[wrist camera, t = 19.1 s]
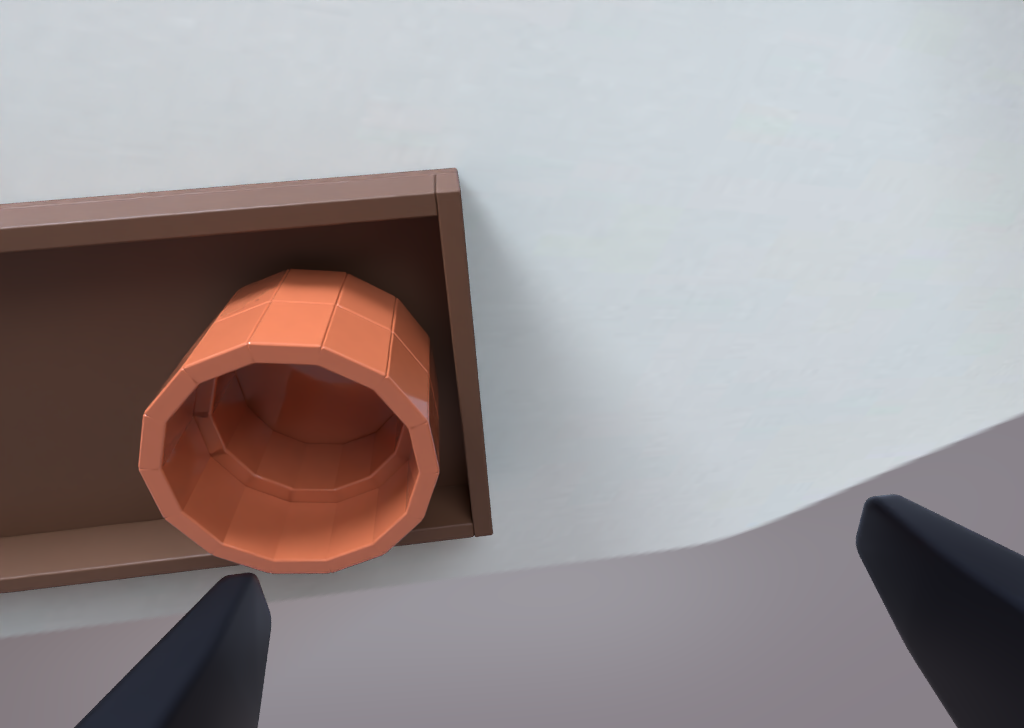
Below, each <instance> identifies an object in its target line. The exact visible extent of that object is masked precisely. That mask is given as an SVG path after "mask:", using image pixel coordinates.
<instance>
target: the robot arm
mask: <svg viewBox="0 0 1024 728" xmlns="http://www.w3.org/2000/svg"><path fill="white" fill-rule="evenodd" d="M856 546H857V550H858V553H859V555H860V558H861V559H862V561H863V563H864V565H865V567H866V569H867V571H868V573H869V575H870V577H871V579H872V581H873V583H874V585H875V587H876V589H877V591H878V593H879V595H880V597H881V599H882V601H883V603H884V605H885V607H886V609H887V611H888V613H889V615H890V617H891V618H892V620H893V622H894V624H895V626H896V628H897V630H898V632H899V634H900V636H901V638H902V640H903V641H904V643H905V645H906V647H907V649H908V650H909V652H910V653H911V655H912V657H913V658H914V660H915V662H916V663H917V665H918V667H919V668H920V670H921V671H922V673H923V674H924V676H925V678H926V679H927V681H928V682H929V684H930V685H931V687H932V688H933V690H934V692H935V693H936V695H937V696H938V698H939V700H940V701H941V702H942V704H943V706H944V707H945V709H946V710H947V712H948V714H949V715H950V717H951V718H952V720H953V722H954V723H955V724H956V726H957V727H958V728H1024V556H1022V555H1021V554H1018V553H1016V552H1014V551H1012V550H1010V549H1008V548H1006V547H1004V546H1002V545H1000V544H998V543H996V542H994V541H992V540H990V539H988V538H986V537H984V536H982V535H980V534H978V533H975V532H974V531H971V530H969V529H967V528H965V527H963V526H961V525H959V524H957V523H955V522H953V521H951V520H949V519H947V518H945V517H943V516H941V515H939V514H937V513H935V512H933V511H930V510H928V509H927V508H924V507H922V506H920V505H918V504H916V503H914V502H912V501H910V500H908V499H906V498H904V497H902V496H900V495H895V494H890V495H882V496H873V497H870V498H868V499H867V501H866V502H865V504H864V507H863V511H862V515H861V519H860V524H859V527H858V531H857V535H856ZM270 632H271V615H270V611H269V608H268V605H267V602H266V599H265V597H264V594H263V591H262V588H261V585H260V583H259V580H258V578H257V576H256V575H255V574H253V573H242V574H234V575H228V576H225V577H223V578H222V579H220V580H219V581H218V582H217V583H216V584H215V585H214V586H213V587H212V588H211V589H210V590H209V591H208V592H207V593H206V594H205V595H204V596H203V597H202V599H201V600H200V601H199V602H198V603H197V604H196V605H195V606H194V607H193V608H192V609H191V610H190V611H189V612H188V613H187V614H186V615H185V616H184V617H183V618H182V619H181V620H180V621H179V622H178V623H177V624H176V625H175V626H174V627H173V628H172V629H171V630H170V631H169V632H168V633H167V634H166V635H165V636H164V637H163V638H162V639H161V640H160V641H159V642H158V643H157V644H156V645H155V646H154V647H153V648H152V649H151V650H150V651H149V652H148V653H147V654H146V655H145V656H144V657H143V659H141V660H140V661H139V662H138V663H137V664H136V665H135V667H133V669H131V671H130V672H129V673H128V674H127V675H126V676H125V677H124V678H123V679H122V680H121V681H120V682H119V683H118V684H117V685H116V686H115V687H114V688H113V689H112V690H111V691H110V692H109V693H108V694H107V695H106V696H105V697H104V698H103V699H102V700H101V701H100V702H99V703H98V704H97V705H96V706H95V707H94V708H93V709H92V710H91V711H90V712H89V713H88V714H87V715H86V716H85V717H84V718H83V719H82V720H81V721H80V722H79V723H78V724H77V725H76V726H75V727H74V728H257V727H258V720H259V713H260V706H261V698H262V691H263V684H264V676H265V669H266V662H267V654H268V647H269V639H270Z"/></svg>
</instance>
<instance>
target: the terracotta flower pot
mask: <svg viewBox="0 0 1024 728" xmlns="http://www.w3.org/2000/svg"><path fill="white" fill-rule="evenodd" d="M138 467H139V472H140V473H141V475H142V477H143V479H144V481H145V483H146V485H147V487H148V489H149V491H150V493H151V495H152V497H153V499H154V501H155V503H156V505H157V506H158V508H159V510H160V512H161V514H162V516H163V517H164V518H165V520H166V521H167V522H169V523H170V524H171V525H173V526H174V527H175V528H177V529H178V530H179V531H181V532H182V533H183V534H184V535H186V536H187V537H188V538H190V539H191V540H192V541H194V542H195V543H196V544H197V545H199V546H200V547H201V548H203V549H204V550H205V551H207V552H208V553H209V554H212V555H213V556H215V557H219V558H222V559H225V560H228V561H231V562H234V563H238V564H241V565H244V566H247V567H250V568H253V569H256V570H260V571H263V572H266V573H272V574H324V573H330V572H331V573H334V572H337V571H339V570H342V569H345V568H348V567H351V566H354V565H356V564H359V563H362V562H365V561H368V560H371V559H373V558H376V557H379V556H382V555H384V554H385V553H387V552H388V551H389V550H390V549H391V548H392V547H393V546H395V545H396V544H397V543H398V542H399V541H400V540H401V539H402V538H403V537H404V536H406V535H407V534H408V533H409V532H410V531H411V530H412V529H413V528H414V527H416V526H417V525H418V524H419V523H420V522H421V521H422V519H423V518H424V517H425V514H426V511H427V508H428V505H429V502H430V499H431V497H432V494H433V491H434V488H435V485H436V482H437V479H438V477H439V471H440V459H439V385H438V375H437V370H436V365H435V361H434V356H433V351H432V346H431V341H430V338H429V336H428V334H427V333H426V332H425V331H424V329H423V328H422V327H421V326H420V325H419V323H418V322H417V321H416V320H415V318H414V317H413V316H412V315H411V313H410V312H409V311H408V310H407V309H406V307H405V306H404V305H403V304H402V302H401V301H400V300H399V299H398V298H396V297H395V296H393V295H391V294H389V293H387V292H385V291H383V290H381V289H379V288H377V287H375V286H373V285H371V284H369V283H367V282H365V281H363V280H361V279H359V278H357V277H355V276H353V275H351V274H347V273H346V272H338V271H321V270H304V269H290V270H285V271H282V272H279V273H277V274H274V275H272V276H269V277H267V278H264V279H262V280H259V281H256V282H254V283H251V284H249V285H246V286H244V287H241V288H240V289H239V290H238V291H236V292H235V293H234V294H233V295H232V297H231V298H230V299H229V300H228V301H227V303H226V304H225V305H224V306H223V307H222V309H221V310H220V311H219V312H218V313H217V315H216V316H215V317H214V318H213V319H212V321H211V322H210V323H209V324H208V326H207V327H206V328H205V330H204V331H203V332H202V334H201V335H200V336H199V338H198V339H197V341H196V342H195V343H194V345H193V346H192V347H191V349H190V350H189V351H188V353H187V354H186V355H185V357H184V358H183V360H182V361H181V362H180V364H179V365H178V366H177V368H176V369H175V370H174V372H173V373H172V374H171V376H170V377H169V379H168V380H167V381H166V383H165V384H164V385H163V387H162V388H161V389H160V391H159V392H158V393H157V395H156V396H155V398H154V399H153V400H152V402H151V403H150V404H149V406H148V407H147V408H146V410H145V412H144V414H143V419H142V429H141V440H140V451H139V462H138Z"/></svg>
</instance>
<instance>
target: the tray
mask: <svg viewBox="0 0 1024 728" xmlns="http://www.w3.org/2000/svg"><path fill="white" fill-rule="evenodd" d="M290 269H304V270H321V271H338V272H346V273H347V274H351V275H353V276H355V277H357V278H359V279H361V280H363V281H365V282H367V283H369V284H371V285H373V286H375V287H377V288H379V289H381V290H383V291H385V292H387V293H389V294H391V295H393V296H395V297H396V298H398V299H399V300H400V301H401V302H402V304H403V305H404V306H405V307H406V309H407V310H408V311H409V312H410V313H411V315H412V316H413V317H414V318H415V320H416V321H417V322H418V323H419V325H420V326H421V327H422V328H423V329H424V331H425V332H426V333H427V334H428V336H429V338H430V341H431V346H432V351H433V356H434V361H435V365H436V370H437V375H438V385H439V459H440V471H439V477H438V479H437V482H436V485H435V488H434V491H433V494H432V497H431V499H430V502H429V505H428V508H427V511H426V514H425V517H424V518H423V519H422V521H421V522H420V523H419V524H418V525H417V526H416V527H414V528H413V529H412V530H411V531H410V532H409V533H408V534H407V535H406V536H404V537H403V538H402V539H401V540H400V541H399V542H398V543H397V544H396V545H395V546H402V545H410V544H419V543H427V542H435V541H444V540H452V539H461V538H469V537H473V536H474V535H475V537H479V536H487V535H492V534H493V529H492V518H491V507H490V497H489V486H488V475H487V465H486V454H485V444H484V433H483V422H482V412H481V401H480V391H479V380H478V369H477V359H476V348H475V337H474V327H473V316H472V306H471V295H470V284H469V274H468V263H467V253H466V242H465V231H464V221H463V210H462V199H461V190H460V184H459V177H458V171H457V169H456V168H448V169H435V170H423V171H410V172H398V173H385V174H373V175H360V176H348V177H335V178H323V179H311V180H298V181H286V182H273V183H261V184H248V185H236V186H223V187H211V188H198V189H186V190H173V191H161V192H148V193H136V194H123V195H111V196H98V197H86V198H73V199H61V200H48V201H36V202H23V203H11V204H0V593H9V592H17V591H25V590H34V589H42V588H50V587H59V586H67V585H75V584H84V583H92V582H101V581H109V580H117V579H126V578H134V577H142V576H151V575H159V574H168V573H176V572H184V571H193V570H201V569H209V568H218V567H226V566H235V565H241V564H238V563H234V562H231V561H228V560H225V559H222V558H219V557H215V556H213V555H212V554H209V553H208V552H207V551H205V550H204V549H203V548H201V547H200V546H199V545H197V544H196V543H195V542H194V541H192V540H191V539H190V538H188V537H187V536H186V535H184V534H183V533H182V532H181V531H179V530H178V529H177V528H175V527H174V526H173V525H171V524H170V523H169V522H167V521H166V520H165V518H164V517H163V516H162V514H161V512H160V510H159V508H158V506H157V505H156V503H155V501H154V499H153V497H152V495H151V493H150V491H149V489H148V487H147V485H146V483H145V481H144V479H143V477H142V475H141V473H140V472H139V467H138V462H139V451H140V440H141V429H142V419H143V414H144V412H145V410H146V408H147V407H148V406H149V404H150V403H151V402H152V400H153V399H154V398H155V396H156V395H157V393H158V392H159V391H160V389H161V388H162V387H163V385H164V384H165V383H166V381H167V380H168V379H169V377H170V376H171V374H172V373H173V372H174V370H175V369H176V368H177V366H178V365H179V364H180V362H181V361H182V360H183V358H184V357H185V355H186V354H187V353H188V351H189V350H190V349H191V347H192V346H193V345H194V343H195V342H196V341H197V339H198V338H199V336H200V335H201V334H202V332H203V331H204V330H205V328H206V327H207V326H208V324H209V323H210V322H211V321H212V319H213V318H214V317H215V316H216V315H217V313H218V312H219V311H220V310H221V309H222V307H223V306H224V305H225V304H226V303H227V301H228V300H229V299H230V298H231V297H232V295H233V294H234V293H235V292H236V291H238V290H239V289H240V288H241V287H244V286H246V285H249V284H251V283H254V282H256V281H259V280H262V279H264V278H267V277H269V276H272V275H274V274H277V273H279V272H282V271H285V270H290ZM393 547H394V546H393Z"/></svg>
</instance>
